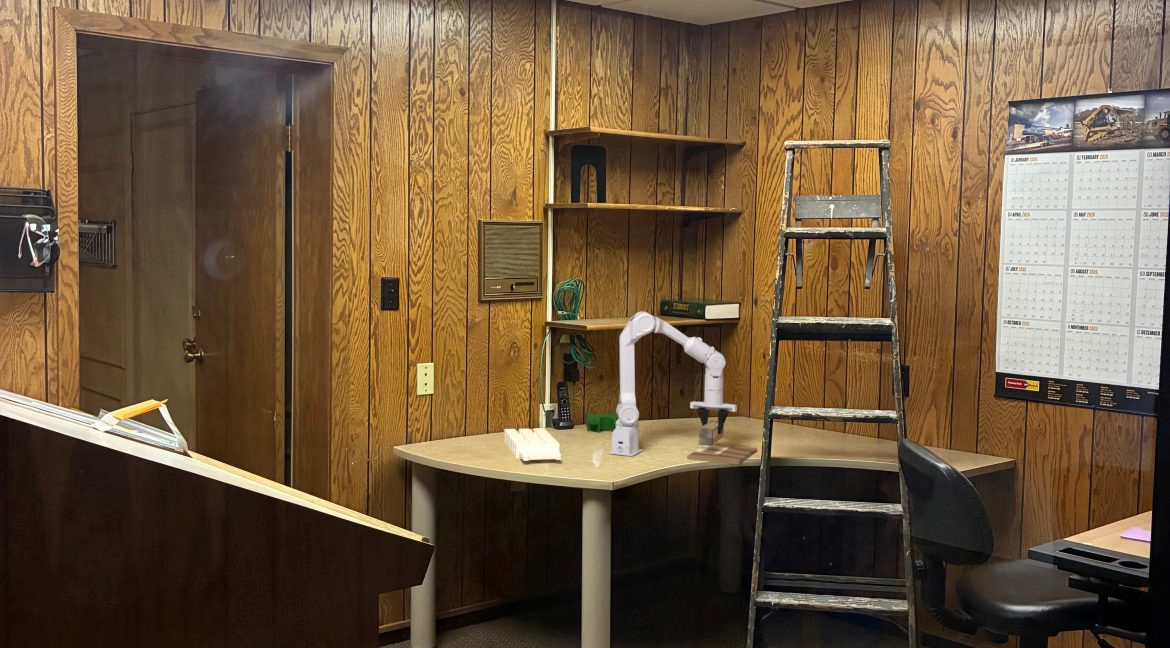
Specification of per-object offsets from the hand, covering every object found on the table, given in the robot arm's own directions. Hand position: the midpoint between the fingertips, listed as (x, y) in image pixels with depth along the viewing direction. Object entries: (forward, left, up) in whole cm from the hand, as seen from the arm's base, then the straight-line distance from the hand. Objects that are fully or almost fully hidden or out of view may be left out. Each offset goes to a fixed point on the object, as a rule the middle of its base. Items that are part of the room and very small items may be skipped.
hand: (712, 432), depth 319 cm
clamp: (+18, +44, -7) cm, 49 cm away
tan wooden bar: (0, 0, -2) cm, 2 cm away
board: (-2, -4, -6) cm, 8 cm away
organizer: (-26, +50, -7) cm, 57 cm away
